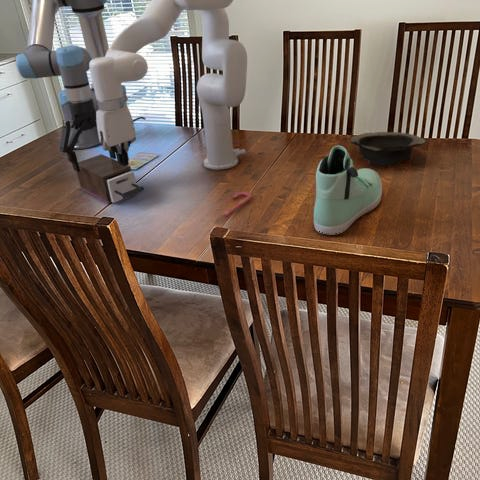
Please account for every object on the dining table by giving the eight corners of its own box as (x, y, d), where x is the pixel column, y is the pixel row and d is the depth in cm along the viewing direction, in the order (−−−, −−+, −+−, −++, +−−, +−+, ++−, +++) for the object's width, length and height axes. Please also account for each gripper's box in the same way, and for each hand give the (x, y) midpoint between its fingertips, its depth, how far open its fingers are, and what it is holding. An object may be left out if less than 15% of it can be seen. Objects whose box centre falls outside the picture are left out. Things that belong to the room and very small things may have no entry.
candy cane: (211, 213, 142) (210, 209, 141) (240, 193, 152) (239, 189, 151) (227, 218, 139) (226, 213, 138) (255, 197, 149) (255, 193, 148)
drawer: (148, 197, 152) (144, 176, 148) (124, 208, 147) (119, 186, 143) (110, 179, 167) (106, 159, 163) (87, 188, 162) (81, 168, 158)
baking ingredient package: (116, 165, 178) (140, 152, 189) (116, 167, 178) (140, 153, 189) (135, 168, 174) (158, 154, 186) (135, 169, 174) (158, 155, 186)
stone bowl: (383, 178, 153) (383, 150, 149) (335, 160, 174) (334, 135, 169) (439, 159, 162) (442, 132, 158) (387, 144, 182) (388, 120, 178)
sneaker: (389, 187, 148) (396, 123, 138) (356, 242, 123) (361, 168, 112) (346, 181, 154) (350, 119, 144) (306, 232, 129) (307, 161, 118)
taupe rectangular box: (135, 192, 158) (130, 166, 154) (108, 204, 153) (102, 177, 148) (107, 179, 170) (101, 154, 165) (80, 189, 164) (74, 163, 159)
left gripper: (108, 89, 158) (121, 150, 169) (36, 107, 144) (55, 173, 154) (121, 92, 153) (133, 155, 164) (47, 111, 139) (66, 179, 150)
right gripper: (126, 95, 142) (137, 154, 152) (81, 108, 134) (96, 169, 143) (140, 99, 138) (151, 159, 147) (94, 112, 129) (109, 175, 139)
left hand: (95, 164), depth 159 cm, fingers open, 13 cm apart
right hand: (124, 164), depth 145 cm, fingers closed
